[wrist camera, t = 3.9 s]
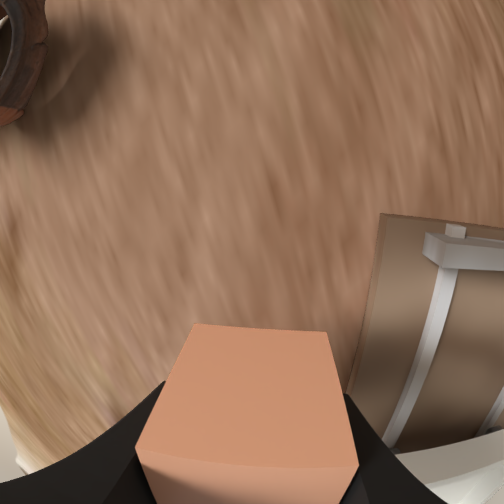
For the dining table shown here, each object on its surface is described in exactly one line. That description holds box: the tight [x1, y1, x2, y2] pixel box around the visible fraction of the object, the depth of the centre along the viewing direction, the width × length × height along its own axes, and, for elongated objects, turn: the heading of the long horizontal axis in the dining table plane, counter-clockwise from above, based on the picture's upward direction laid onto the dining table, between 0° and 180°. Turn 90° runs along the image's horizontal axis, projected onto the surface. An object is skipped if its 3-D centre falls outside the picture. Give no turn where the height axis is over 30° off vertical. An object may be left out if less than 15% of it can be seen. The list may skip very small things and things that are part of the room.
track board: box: [346, 213, 504, 454], centre depth 16 cm, size 30×16×3 cm, turn 178°
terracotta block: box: [135, 323, 359, 504], centre depth 7 cm, size 4×4×5 cm
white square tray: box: [390, 425, 504, 504], centre depth 14 cm, size 11×12×4 cm
